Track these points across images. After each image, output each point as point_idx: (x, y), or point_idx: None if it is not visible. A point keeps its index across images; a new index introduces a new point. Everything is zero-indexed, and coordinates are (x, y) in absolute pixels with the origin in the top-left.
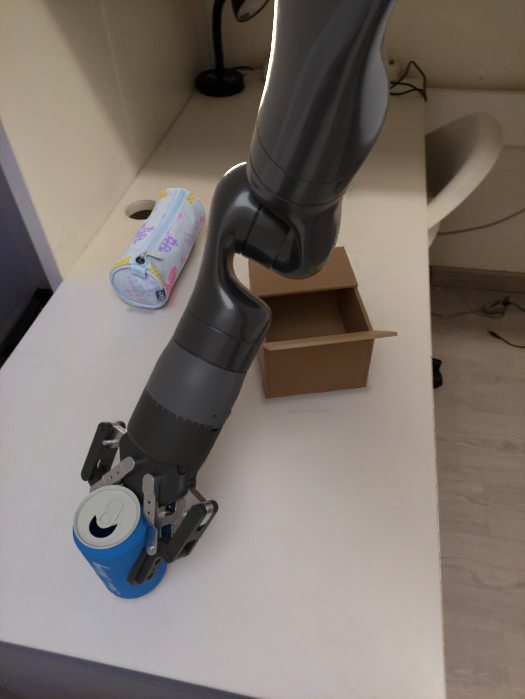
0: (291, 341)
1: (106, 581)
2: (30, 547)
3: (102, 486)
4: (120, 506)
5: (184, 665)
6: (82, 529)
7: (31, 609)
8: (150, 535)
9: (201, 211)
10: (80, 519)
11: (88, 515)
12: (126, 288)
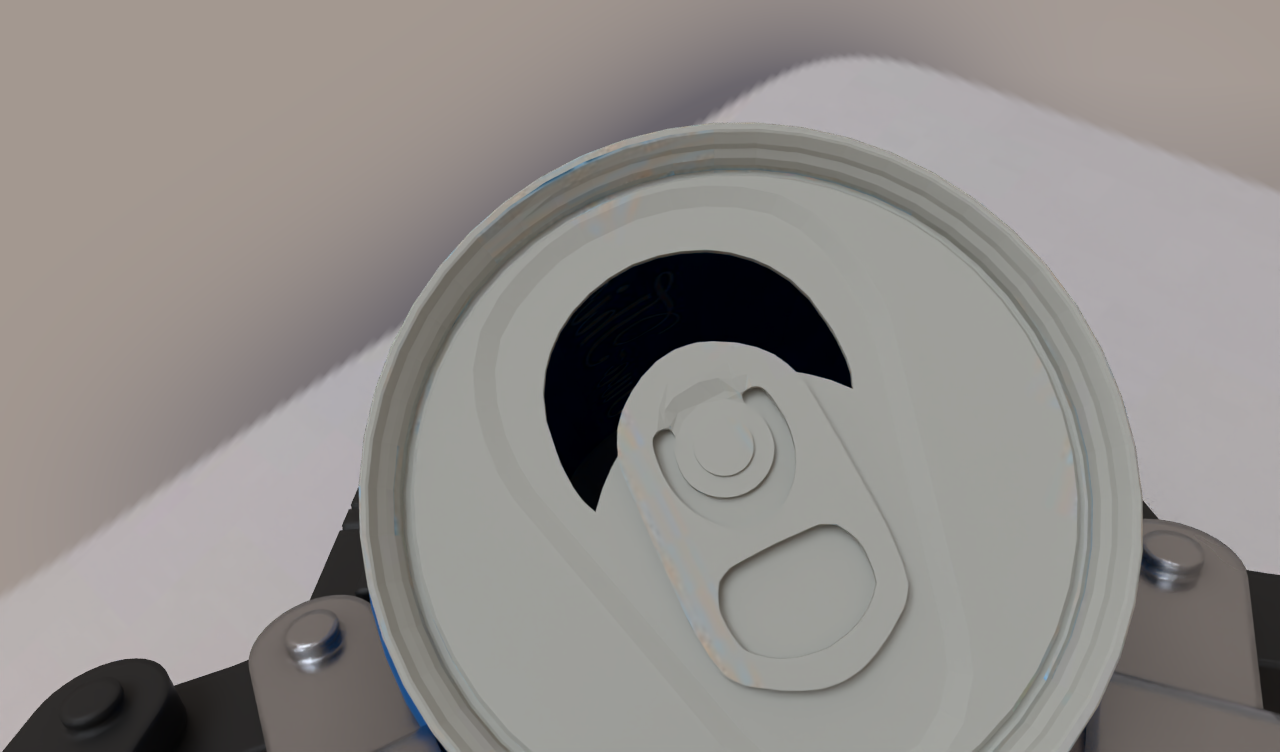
0: None
1: (629, 359)
2: (1135, 246)
3: (1166, 652)
4: (736, 653)
5: (233, 479)
6: (795, 212)
7: (864, 140)
8: (347, 709)
9: None
10: (906, 242)
11: (895, 327)
12: None
